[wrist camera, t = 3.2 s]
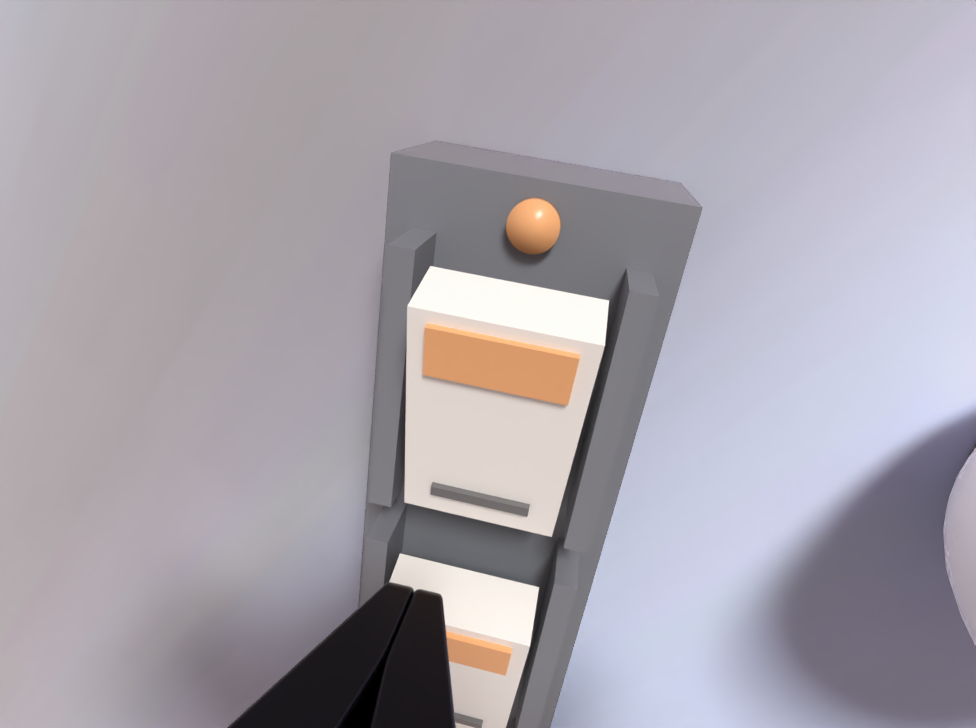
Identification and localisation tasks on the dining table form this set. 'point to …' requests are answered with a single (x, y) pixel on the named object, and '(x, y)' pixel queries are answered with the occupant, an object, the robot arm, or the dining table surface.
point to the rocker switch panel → (617, 389)
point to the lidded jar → (963, 542)
